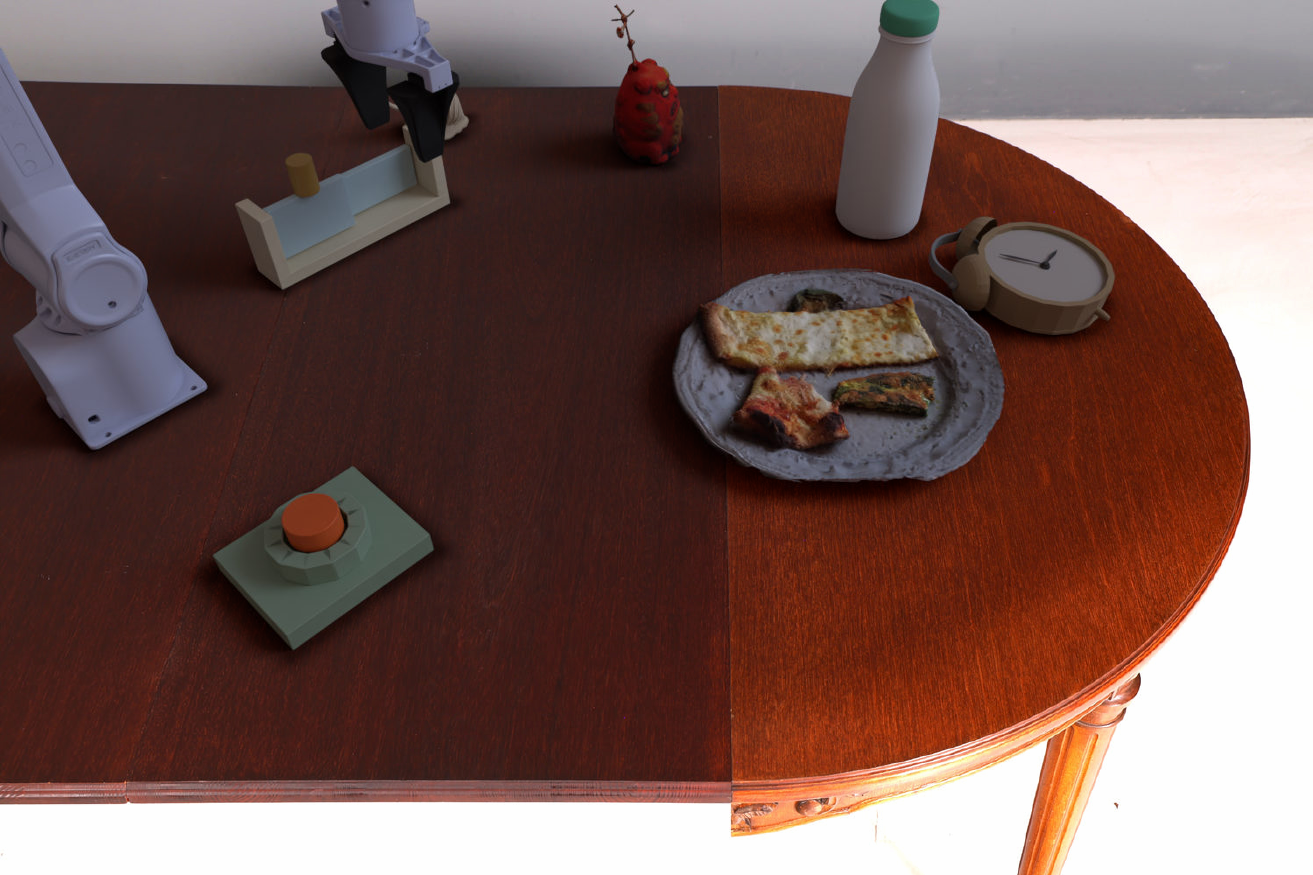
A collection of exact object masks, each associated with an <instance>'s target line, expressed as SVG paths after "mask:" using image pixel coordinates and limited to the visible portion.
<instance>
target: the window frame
mask: <svg viewBox="0 0 1313 875" xmlns="http://www.w3.org/2000/svg"><path fill="white" fill-rule="evenodd" d="M403 126H404V125H403ZM403 126H402V133H403V137H404V142H405V143H404V144H402V145H400V146H399V145H398V147H395V148H393V149H391V150H389V151H387V152H384V153H382V154H380V155H378V156H376V157H374V158H372V159H370V160H367V161H365V162H363V163H361V164H359V165H357V166H355V167H353V168H350V169H348V170H346V171H343V172H342V173H339V174H340V175H341V176H343V178H344V182H345V185H346V189H347V193H348V197H349V201H350V205H351V208H352V212H353V216H354V220H355V225H353V226H351V227H349V228H347V229H345V230H343V231H341V232H339V233H337V234H335V235H333V236H331V237H329V238H327V239H325V240H323V241H321V242H319V243H317V244H315V245H313V246H311V247H309V248H307V249H305V250H303V251H301V252H299V253H297V254H295V255H293V256H291V257H289V258H287V259H286V258H285V255H284V251H283V248H282V245H281V242H280V239H279V236H278V233H277V230H276V227H275V224H274V221H273V218H272V216H271V215H269V214H268V213H266V212H265V211H264V210H263V208H261V207H260V206H259V205H257V204H256V203H254V202H253V201H252V200H250V199H249V198H245V199H242V200H240V201H237V202H235V204H234V205H235V208H236V211H237V214H238V217H239V219H240V223H241V226H242V228H243V231H244V234H245V237H246V238H247V243H248V245H249V248H250V251H251V254H252V255H253V260H254V262H255V265H256V268H257V270H258V272H259V273H260V274H262V275H263V276H264V277H266V278H267V279H268V280H269V281H271V282H272V283H273V284H274V285H276V286H277V287H278V288H280V289H281V290H283V291H284V290H285V289H287V288H289V287H291V286H293V285H295V284H296V283H299V282H300V281H303V280H305V279H306V278H308V277H310V276H313V275H314V274H316V273H318V272H320V271H322V270H323V269H326V268H328V267H329V266H332V265H333V264H336V263H338V262H339V261H341V260H343V259H345V258H347V257H349V256H351V255H353V254H355V253H356V252H358V251H360V250H363V249H365V248H366V247H369V246H370V245H372V244H374V243H376V242H378V241H379V240H382V239H384V238H386V237H387V236H390V235H392V234H393V233H396V232H397V231H400V230H401V229H403V228H405V227H407V226H409V225H411V224H412V223H415V222H417V221H419V220H421V219H422V218H424V217H427V216H429V215H430V214H432V213H434V212H436V211H438V210H440V209H441V208H444V207H445V206H448V205H449V204H451V200H450V193H449V189H448V185H447V184H448V183H447V178H446V172H445V167H444V166H445V165H444V162H443V155H441V156H439V157H437V158H435V159H433V160H431V161H429V162H426V163H423V162H422V161H420V160H419V158H418V156H417V155H416V152H415V150H414V147H413V144H412V141H411V137H410V134H409V131H408V128H407V125H406V126H404V127H403Z"/></svg>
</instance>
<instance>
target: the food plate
mask: <svg viewBox="0 0 1313 875" xmlns="http://www.w3.org/2000/svg"><path fill="white" fill-rule="evenodd" d="M965 310H966V309H964V308H962V307H961V306H959V305H958V304H957V303H955V302H954V301H953V300H952V299H951V298H949V297H947V296H945V294H942V293H941V292H939V291H936V289H934V288H932V287H929V286H927V285H924V284H922V283H919V282H918V281H913V280H912V279H907V278H899V277H896V276H892V275H890V274H886V273H881V272H877V271H875V270H873V269H868V268H821V269H808V270H807V269H806V270H795V271H785V272H779V273H778V274H777V272H775V273H768V274H764V275H759V276H757V277H754V278H751V279H747V280H745V281H742V282H741V283H738V284H737V285H736V286H732V287H731V288H729V289H728V290H727V291H725V292H724V293H722V295H720V296H719V297H715V299H714V300H711V301H710V302H709V301H708V302H707V303H704V304H702V303H700V304H699V305H698V307H697V312H696V313H695V315H694V316H693V318H692V319H693V320H692V321H691V322H690V323H689V325H688V326H686V328H685V329H684V330H683V331H682V332H681V334H680V336H679V337H678V341H677V342H678V343H677V346H676V348H675V351H674V358H673V364H672V370H671V373H672V374H671V376H672V377H671V384H672V385H671V387H672V389H673V394H674V396H673V397H674V399H675V401H676V402H677V405H678V406H679V408H680V409H681V411H682V413H683V414H684V415H685V416H686V417H687V418H688V419H689V421H691V423H692V424H693V425H694V427H695V428H696V429H697V431H698V432H699V434H700V435H701V438H702V440H703V441H704V443H705V444H707V445H709V446H711V447H712V448H713V449H714V450H715V451H716V452H718V453H720V454H722V455H723V456H724V455H725V457H726V459H725V462H729V461H730V458H729V457H730V456H729V455H731V456H732V458H733V460H734V461H735V462H736V463H737V465H739V466H741V467H743V468H746V467H754V468H756V469H758V470H759V473H760V474H761V475H762V476H764V477H765V478H770V479H777V480H780V481H781V480H785V481H792V482H798V483H803V482H801V481H800V480H804V481H805V482H807V481H808V482H814V481H815V482H819V481H821V482H824V483H825V482H833V483H835V482H842V483H845V482H847V483H858V482H860V481H862V480H863V481H865V480H866V481H877V482H879V481H883V482H887V481H891V480H896V479H897V480H898V479H899V480H900V479H904V478H908V479H914V480H915V479H916V480H920V481H924V482H925V481H926V482H929V481H932V480H935V479H938V478H939V477H940V478H941V477H944V476H945V475H947V474H949V473H950V472H951V473H952V472H954V471H955V470H958V469H959V468H960V467H963V466H965V465H966V464H967V463H968V462H969V461H970V460H971V459H972V458H974V456H977V454H978V453H979V451H980V449H981V448H982V447H983V446H984V444H985V442H987V437H988V436H989V433H990V432H991V431H992V430H993V428H994V426H995V424H996V423H997V421H998V420H999V419H1000V418H1001V414H1002V409H1003V405H1004V404H1003V403H1004V400H1005V399H1004V395H1005V389H1006V384H1005V382H1004V380H1005V377H1004V373H1003V369H1002V366H1001V363H1000V362H999V358H998V356H997V352H996V349H995V348H994V347H995V346H994V345H993V343H994V342H993V341H992V339H991V334H990V333H989V332H988V331H987V330H986V329H985V328H984V327H983V326H982V325H980V324H979V323H978V322H976V320H974V318H972V317H971V316H970V315H969V314H968V312H967V311H965Z"/></svg>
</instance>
